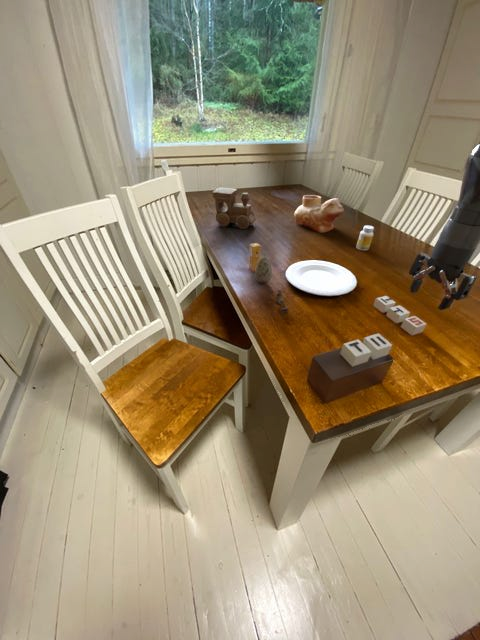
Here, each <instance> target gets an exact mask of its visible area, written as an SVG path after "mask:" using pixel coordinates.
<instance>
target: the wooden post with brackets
mask: <svg viewBox="0 0 480 640" xmlns="http://www.w3.org/2000/svg"><path fill="white" fill-rule="evenodd" d="M275 298H276V299H277V300H276V301H277V304H278V305H280V306H281V310H280V312H281V313H286V312H288V309H289V308H288V307H286V304H285V302H284V301H285V300H284V296H283V292H282V288H277V294H276V296H275Z"/></svg>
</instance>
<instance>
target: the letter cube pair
mask: <svg viewBox="0 0 480 640" xmlns="http://www.w3.org/2000/svg"><path fill="white" fill-rule="evenodd" d="M396 303H397V302H396V301H394V300H393V298H391V297H389V296H387V295H383V296H379V297H376V298H375V300H374V303H373V304H372V306H373V307H374V308H375V309H377V310H378V312H381V314H383V313H386V317H387V318H388V319H390V321H392V322H393V323H394V324H399V323H403V321H404V319H406V318H409V317H410V314H411V312H410V311H409V310H407V309H406V308H405V307H403V306H402V305H400V304H399V305H396Z"/></svg>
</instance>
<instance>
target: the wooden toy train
mask: <svg viewBox="0 0 480 640" xmlns="http://www.w3.org/2000/svg"><path fill="white" fill-rule="evenodd" d="M237 196H238V189H237V188H233V187H217V188H216V189H214V190H213V191H212V198H213V199H214V204H215V211H216V214H215V221H216V222H217V223H218V225H219V226H220V227H224V228H226V227H228V226H229V225H230V223H231V224H235V225H236V226H237V227H238V228H239V229H241V230H246V229H247V228H249V227H250V226H253V224H254V223H255V222H256V219H257V218H256V217H255V214H254V212H253V211H252V204H248V203H249V201H250V199H251V197H250V194H249V193H248V192H242V194H241V195H240V201H241V202H236V197H237ZM225 204H226V205H225Z"/></svg>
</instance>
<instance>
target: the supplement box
mask: <svg viewBox="0 0 480 640" xmlns="http://www.w3.org/2000/svg"><path fill="white" fill-rule="evenodd" d="M248 245H249V246H248V247H249V251H248V252H249V258H248V259H249V263H248V265H249V270H250V271H251V272H252V273H254V272H255V269H256V266H257V263H258V261H259V260H260V259H261V251H262V250H261V249H262V248H261V247H262V245H261V244H259V243H258V242H255V243H250V244H248Z"/></svg>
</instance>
